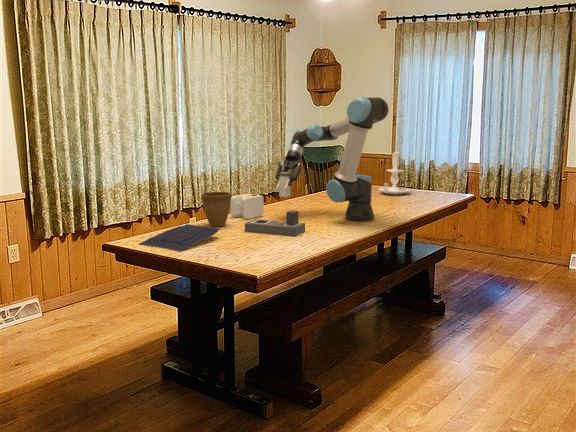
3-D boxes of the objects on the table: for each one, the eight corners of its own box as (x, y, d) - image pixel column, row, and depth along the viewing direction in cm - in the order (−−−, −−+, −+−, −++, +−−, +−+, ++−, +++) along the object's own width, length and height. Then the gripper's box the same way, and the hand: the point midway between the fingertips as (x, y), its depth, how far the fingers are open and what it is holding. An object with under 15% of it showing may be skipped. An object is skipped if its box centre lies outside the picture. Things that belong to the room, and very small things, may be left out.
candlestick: (369, 195, 397) (370, 152, 392) (387, 190, 417) (388, 149, 411) (398, 198, 385) (400, 153, 380) (415, 193, 405) (417, 150, 399)
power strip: (305, 231, 292) (305, 210, 290) (295, 236, 281) (295, 214, 279) (255, 226, 302) (255, 206, 300) (244, 231, 291) (244, 210, 289)
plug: (290, 195, 319) (290, 172, 316) (286, 197, 314) (286, 173, 312) (283, 195, 320) (283, 172, 318) (279, 196, 316) (279, 173, 313)
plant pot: (235, 223, 310) (235, 191, 307) (226, 229, 296) (225, 196, 293) (208, 221, 314) (207, 190, 310) (197, 227, 299) (196, 195, 296)
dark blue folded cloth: (225, 235, 278) (224, 227, 277) (181, 257, 254) (180, 249, 253) (184, 229, 291) (183, 221, 290) (139, 249, 267) (137, 242, 265)
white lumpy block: (243, 220, 317) (243, 198, 315) (229, 217, 324) (229, 196, 322) (264, 216, 328) (263, 195, 325) (250, 213, 335) (250, 192, 332)
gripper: (311, 159, 324) (299, 195, 313) (281, 158, 331) (268, 193, 319) (307, 150, 319) (295, 186, 307) (277, 149, 325) (264, 184, 313)
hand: (281, 189), depth 313 cm, fingers closed on plug, 4 cm apart
